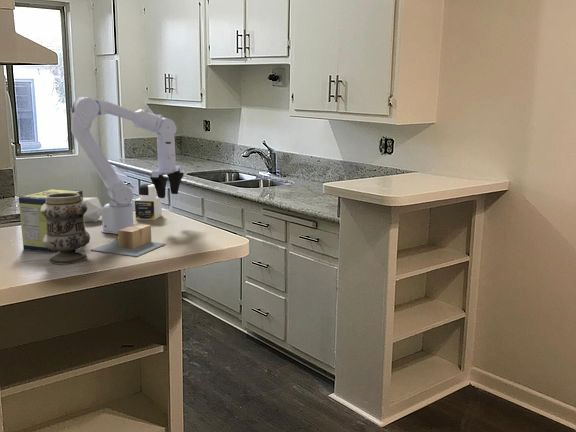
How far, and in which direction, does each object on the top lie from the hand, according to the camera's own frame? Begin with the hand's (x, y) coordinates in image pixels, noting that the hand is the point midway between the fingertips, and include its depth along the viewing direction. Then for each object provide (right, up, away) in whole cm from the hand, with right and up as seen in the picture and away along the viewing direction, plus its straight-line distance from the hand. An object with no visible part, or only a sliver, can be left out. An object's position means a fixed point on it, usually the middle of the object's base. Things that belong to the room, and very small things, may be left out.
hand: (168, 195), depth 198 cm
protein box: (-29, -16, -21) cm, 39 cm away
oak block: (-4, -12, -17) cm, 21 cm away
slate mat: (-7, -16, -23) cm, 29 cm away
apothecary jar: (-20, -19, -35) cm, 44 cm away
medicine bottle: (-10, -8, +15) cm, 19 cm away
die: (-29, -9, +10) cm, 32 cm away
